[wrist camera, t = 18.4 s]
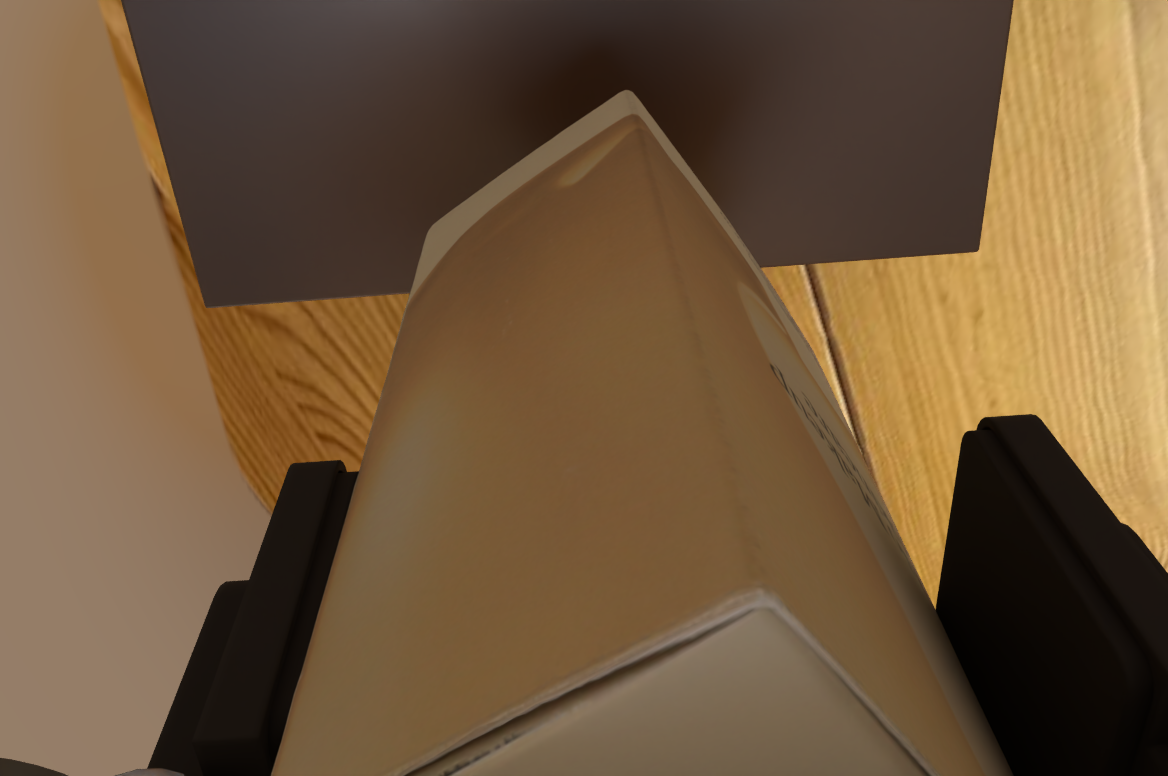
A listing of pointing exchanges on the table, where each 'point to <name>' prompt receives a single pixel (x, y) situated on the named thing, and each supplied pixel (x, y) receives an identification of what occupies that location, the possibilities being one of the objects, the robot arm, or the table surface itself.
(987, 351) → the table surface
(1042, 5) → the table surface
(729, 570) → the cosmetic box
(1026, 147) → the table surface
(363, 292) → the cabinet
